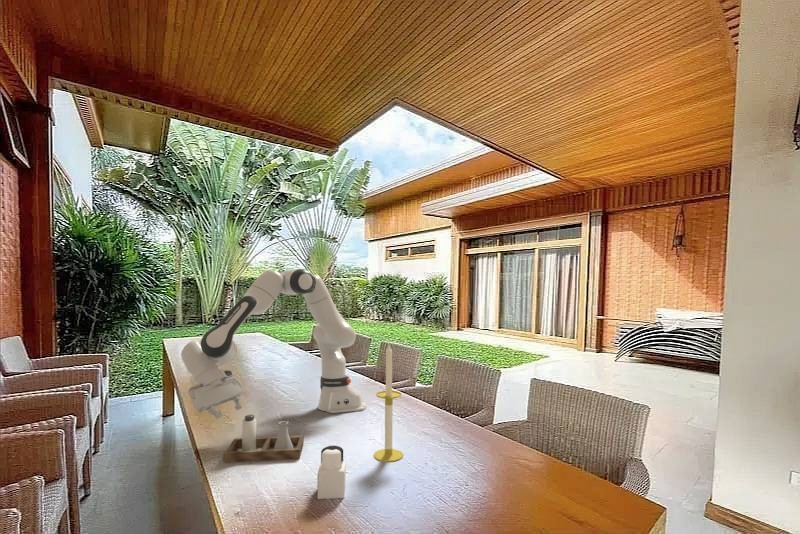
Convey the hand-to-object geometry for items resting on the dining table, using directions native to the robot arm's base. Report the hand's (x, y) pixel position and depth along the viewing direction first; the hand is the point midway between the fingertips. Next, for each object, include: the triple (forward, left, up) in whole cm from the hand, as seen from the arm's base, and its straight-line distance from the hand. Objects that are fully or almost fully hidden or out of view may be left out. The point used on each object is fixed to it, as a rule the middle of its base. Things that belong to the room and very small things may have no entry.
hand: (229, 413), depth 145 cm
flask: (-20, +8, -12) cm, 24 cm away
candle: (-55, +15, -12) cm, 58 cm away
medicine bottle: (-37, +37, -12) cm, 53 cm away
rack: (-14, +8, -12) cm, 20 cm away
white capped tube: (-8, +8, -11) cm, 16 cm away
